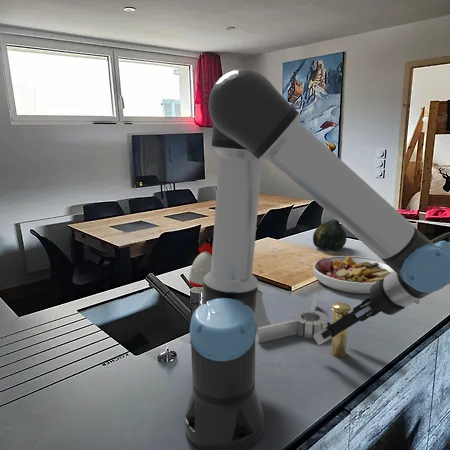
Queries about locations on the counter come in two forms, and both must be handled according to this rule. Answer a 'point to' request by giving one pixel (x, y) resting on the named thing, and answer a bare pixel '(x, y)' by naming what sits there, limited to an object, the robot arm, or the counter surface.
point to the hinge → (295, 325)
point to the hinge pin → (341, 339)
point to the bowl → (350, 273)
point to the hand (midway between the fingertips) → (328, 332)
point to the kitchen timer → (201, 265)
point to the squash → (330, 236)
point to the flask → (261, 311)
